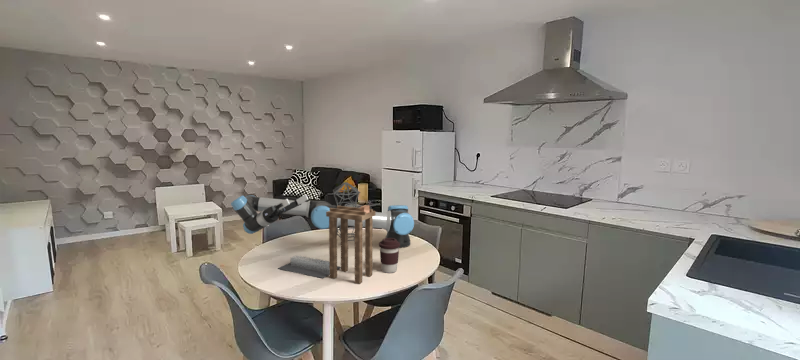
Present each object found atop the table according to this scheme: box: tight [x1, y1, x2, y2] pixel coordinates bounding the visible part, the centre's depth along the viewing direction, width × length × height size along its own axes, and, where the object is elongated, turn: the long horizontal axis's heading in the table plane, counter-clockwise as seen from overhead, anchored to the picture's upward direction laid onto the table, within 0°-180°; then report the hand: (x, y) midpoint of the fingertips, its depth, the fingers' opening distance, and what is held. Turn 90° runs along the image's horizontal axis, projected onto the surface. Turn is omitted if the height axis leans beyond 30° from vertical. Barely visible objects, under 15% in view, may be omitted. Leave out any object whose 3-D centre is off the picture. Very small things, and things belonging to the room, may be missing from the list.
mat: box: [277, 261, 341, 279], centre depth 179 cm, size 26×15×1 cm, turn 66°
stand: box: [326, 204, 377, 285], centre depth 167 cm, size 18×12×33 cm, turn 66°
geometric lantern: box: [332, 181, 361, 242], centre depth 226 cm, size 16×16×35 cm
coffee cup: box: [378, 237, 400, 274], centre depth 177 cm, size 10×10×15 cm
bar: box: [290, 255, 330, 273], centre depth 178 cm, size 22×4×4 cm, turn 66°
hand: (297, 199), depth 178 cm, fingers open, 13 cm apart
